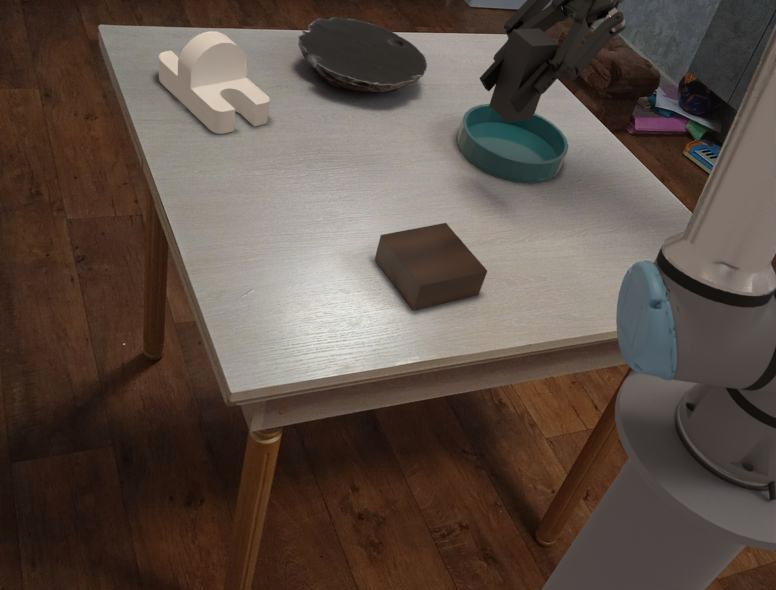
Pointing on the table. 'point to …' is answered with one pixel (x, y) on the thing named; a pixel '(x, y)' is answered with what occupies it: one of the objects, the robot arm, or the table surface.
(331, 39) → the dark grey round slab
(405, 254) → the stand
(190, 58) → the slotted bracket
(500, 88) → the pillar
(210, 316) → the table surface
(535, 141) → the tin
